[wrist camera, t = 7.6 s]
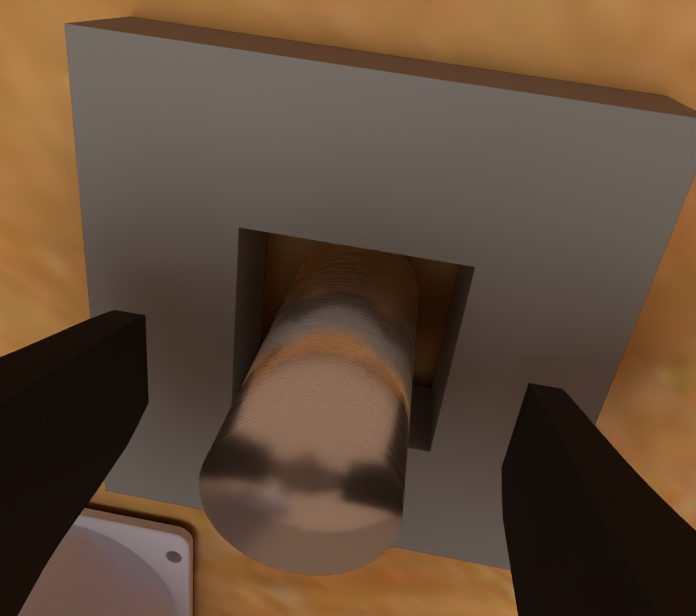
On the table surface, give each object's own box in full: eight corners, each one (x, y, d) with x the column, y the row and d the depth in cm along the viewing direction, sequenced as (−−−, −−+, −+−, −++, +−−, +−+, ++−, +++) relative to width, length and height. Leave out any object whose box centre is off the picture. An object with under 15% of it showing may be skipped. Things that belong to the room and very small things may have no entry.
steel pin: (407, 354, 16) (385, 592, 10) (292, 333, 16) (197, 553, 10) (429, 246, 14) (420, 443, 8) (302, 224, 14) (200, 401, 8)
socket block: (523, 500, 17) (534, 574, 15) (146, 428, 18) (106, 490, 16) (666, 96, 12) (716, 120, 10) (129, 16, 13) (64, 22, 11)
